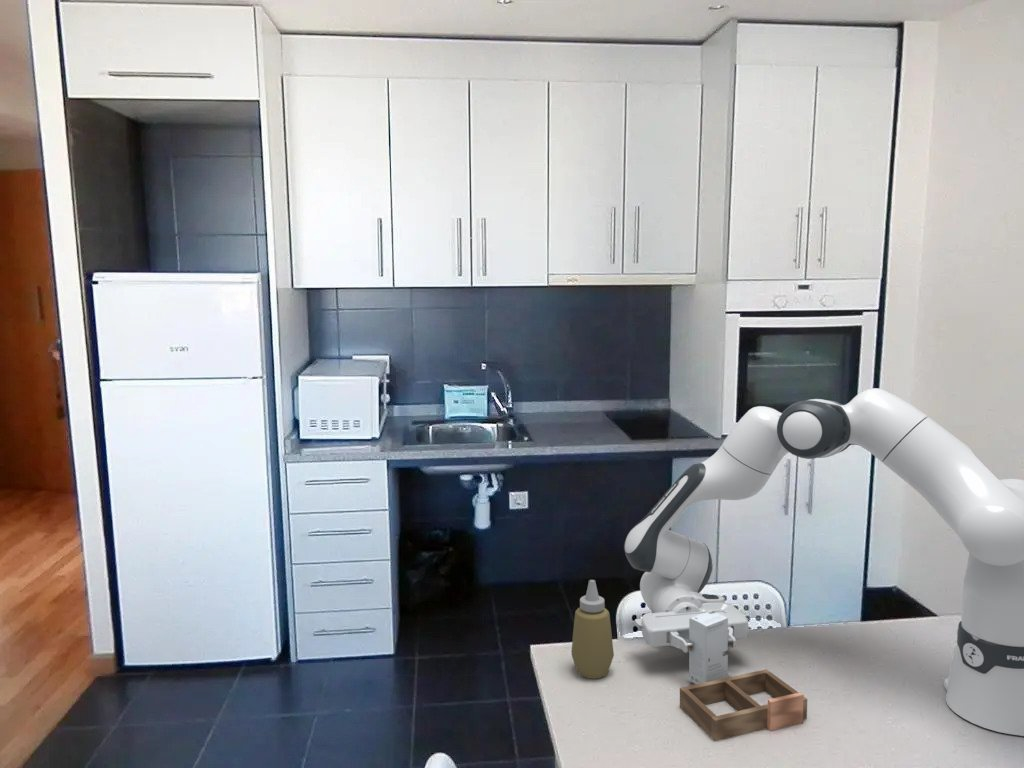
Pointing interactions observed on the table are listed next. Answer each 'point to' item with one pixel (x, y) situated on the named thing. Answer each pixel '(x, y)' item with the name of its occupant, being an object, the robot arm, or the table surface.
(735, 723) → the wooden compartment holder
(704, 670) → the skincare box
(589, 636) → the squeeze bottle
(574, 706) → the table surface
